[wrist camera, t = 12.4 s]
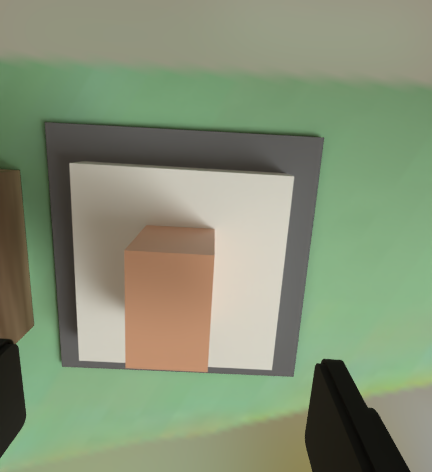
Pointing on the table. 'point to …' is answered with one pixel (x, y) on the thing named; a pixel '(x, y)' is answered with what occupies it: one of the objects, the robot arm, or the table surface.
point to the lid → (178, 264)
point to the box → (13, 261)
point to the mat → (193, 156)
